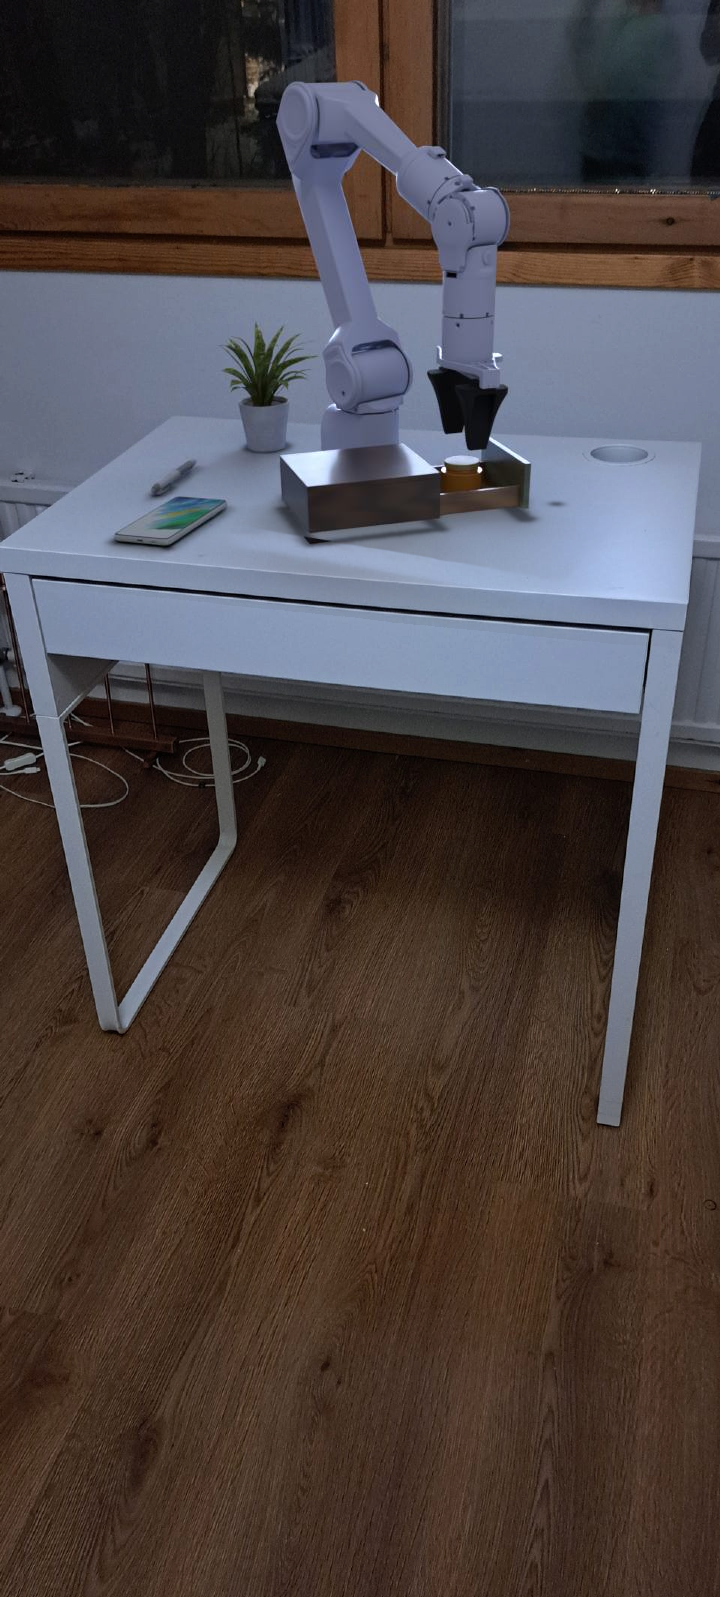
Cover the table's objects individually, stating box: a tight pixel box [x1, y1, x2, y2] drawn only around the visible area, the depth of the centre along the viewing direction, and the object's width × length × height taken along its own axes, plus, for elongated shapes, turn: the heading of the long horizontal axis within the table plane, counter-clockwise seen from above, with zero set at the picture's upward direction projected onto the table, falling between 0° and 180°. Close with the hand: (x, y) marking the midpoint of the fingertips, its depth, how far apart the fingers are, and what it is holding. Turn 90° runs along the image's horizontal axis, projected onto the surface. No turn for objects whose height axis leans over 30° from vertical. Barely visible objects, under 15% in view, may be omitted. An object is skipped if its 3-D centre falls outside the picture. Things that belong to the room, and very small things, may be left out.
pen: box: [150, 458, 197, 495], centre depth 148 cm, size 1×14×1 cm, turn 165°
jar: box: [441, 455, 482, 494], centre depth 136 cm, size 5×5×4 cm
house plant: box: [219, 322, 319, 453], centre depth 157 cm, size 14×14×16 cm
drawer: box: [431, 436, 532, 516], centre depth 135 cm, size 16×13×6 cm
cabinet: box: [279, 442, 441, 545], centre depth 133 cm, size 15×13×6 cm
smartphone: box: [113, 496, 228, 546], centre depth 134 cm, size 7×1×15 cm
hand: (464, 440), depth 133 cm, fingers open, 7 cm apart
